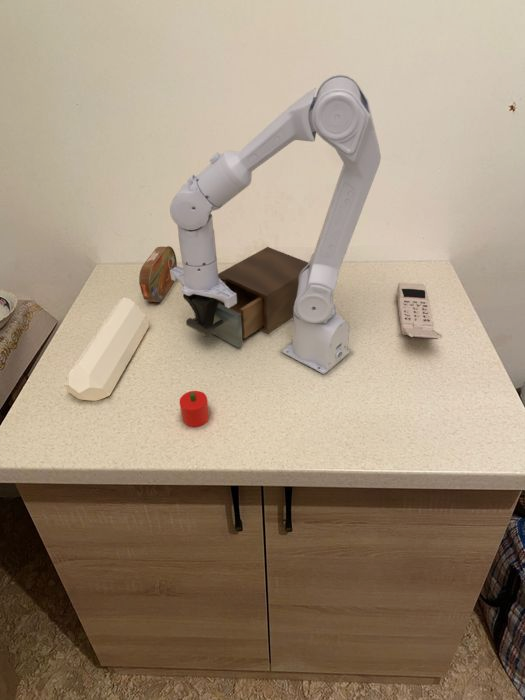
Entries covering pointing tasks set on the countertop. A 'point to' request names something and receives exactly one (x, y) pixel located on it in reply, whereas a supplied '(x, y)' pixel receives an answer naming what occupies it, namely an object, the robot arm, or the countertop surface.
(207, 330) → the drawer
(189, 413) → the pepper
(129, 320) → the crystal
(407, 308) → the mobile phone
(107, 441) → the countertop surface
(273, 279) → the cabinet
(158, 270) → the tin
